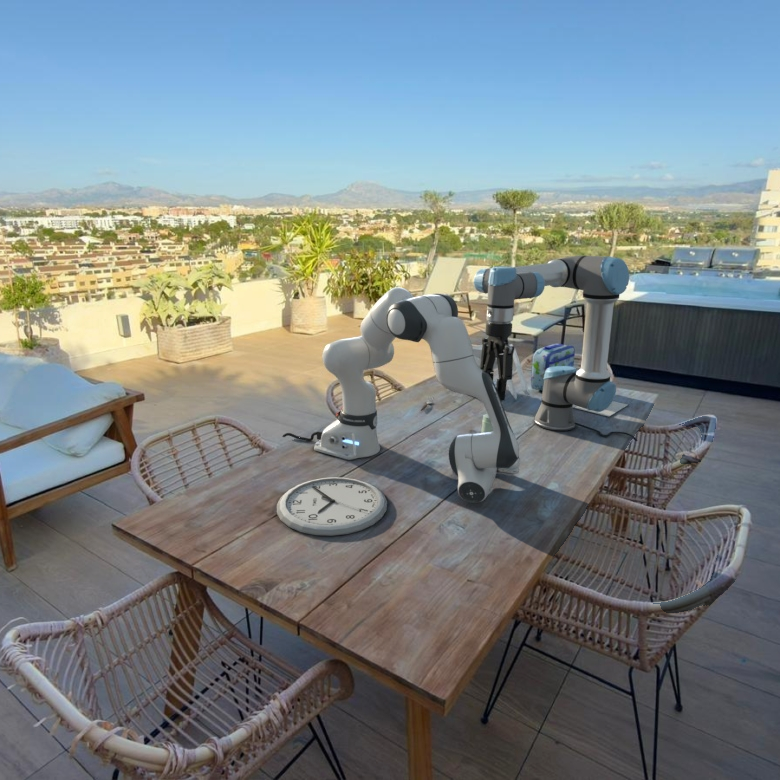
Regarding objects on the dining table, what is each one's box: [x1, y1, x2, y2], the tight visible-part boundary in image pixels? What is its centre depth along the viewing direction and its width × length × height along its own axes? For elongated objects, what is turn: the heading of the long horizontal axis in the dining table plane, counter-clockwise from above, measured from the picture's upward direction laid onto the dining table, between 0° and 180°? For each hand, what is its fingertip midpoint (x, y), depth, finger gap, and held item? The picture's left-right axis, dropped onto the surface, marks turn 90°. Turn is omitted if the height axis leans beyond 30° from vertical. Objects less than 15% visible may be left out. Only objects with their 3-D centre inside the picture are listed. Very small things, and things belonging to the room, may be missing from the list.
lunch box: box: [530, 343, 576, 391], centre depth 249 cm, size 26×11×21 cm, turn 134°
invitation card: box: [573, 400, 629, 418], centre depth 226 cm, size 21×1×15 cm
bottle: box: [481, 412, 494, 433], centre depth 163 cm, size 5×5×18 cm
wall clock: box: [276, 476, 388, 537], centre depth 142 cm, size 30×2×30 cm
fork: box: [420, 396, 435, 411], centre depth 223 cm, size 3×16×2 cm, turn 160°
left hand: (489, 450), depth 164 cm, fingers closed on bottle, 5 cm apart
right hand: (493, 397), depth 158 cm, fingers closed on lid, 6 cm apart
